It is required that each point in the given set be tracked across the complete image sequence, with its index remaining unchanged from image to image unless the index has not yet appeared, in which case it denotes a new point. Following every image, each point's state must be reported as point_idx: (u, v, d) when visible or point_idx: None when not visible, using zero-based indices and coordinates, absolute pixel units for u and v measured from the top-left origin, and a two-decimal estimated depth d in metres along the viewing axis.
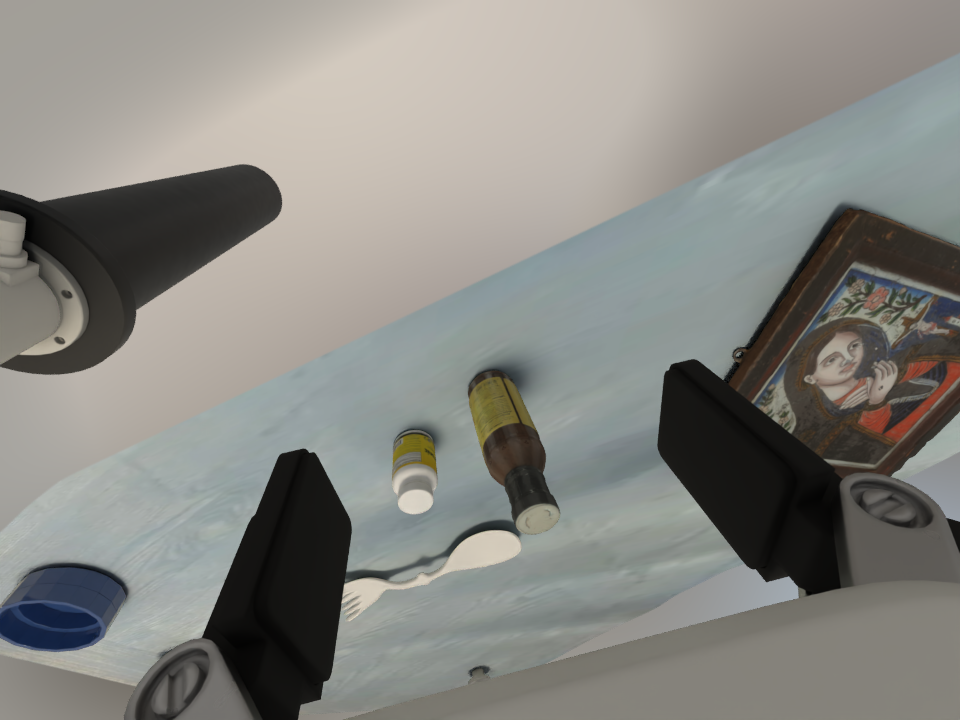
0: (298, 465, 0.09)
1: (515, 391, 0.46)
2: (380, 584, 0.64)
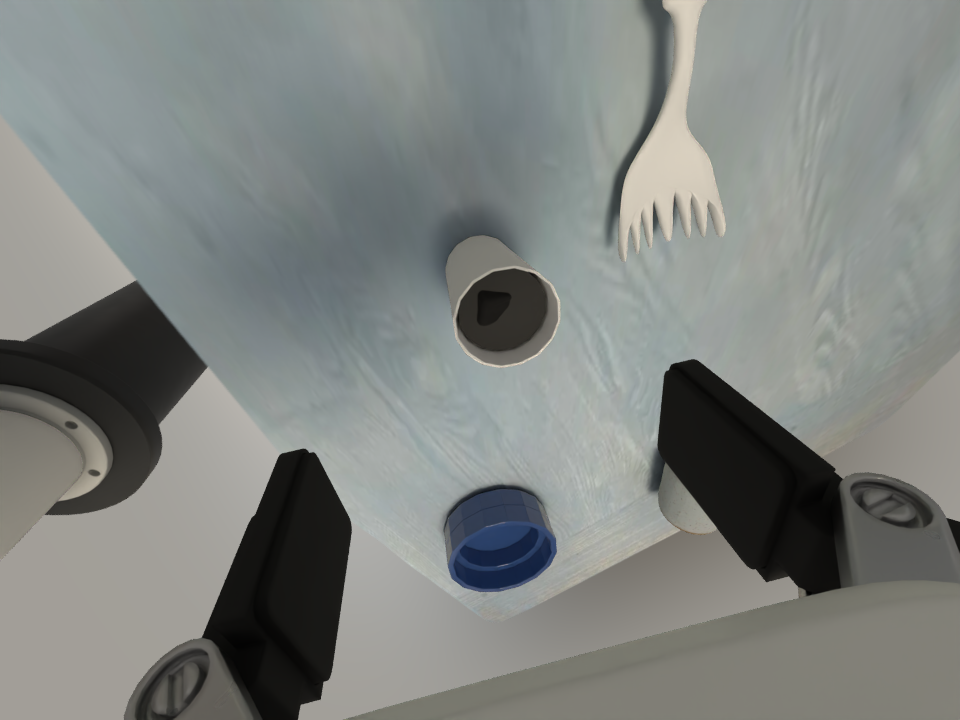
0: (298, 465, 0.09)
1: None
2: (662, 132, 0.28)
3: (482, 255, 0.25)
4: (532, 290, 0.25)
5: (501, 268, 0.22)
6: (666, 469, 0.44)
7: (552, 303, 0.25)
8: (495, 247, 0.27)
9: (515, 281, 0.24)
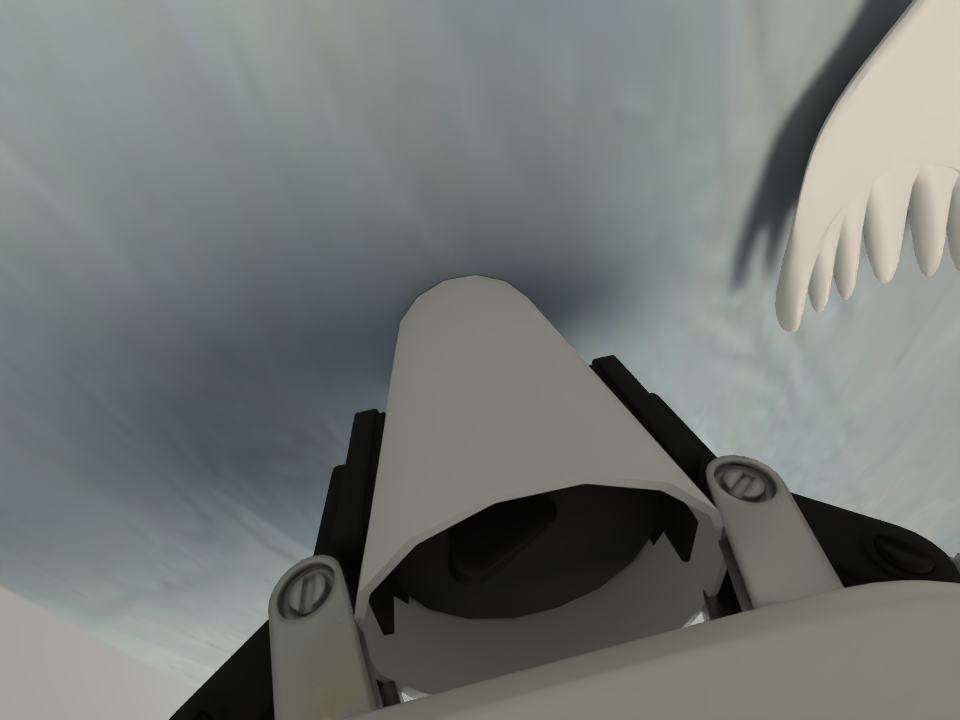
0: (374, 421, 0.10)
1: None
2: (941, 13, 0.10)
3: (463, 368, 0.08)
4: (623, 486, 0.08)
5: (531, 489, 0.05)
6: None
7: None
8: (503, 327, 0.10)
9: None
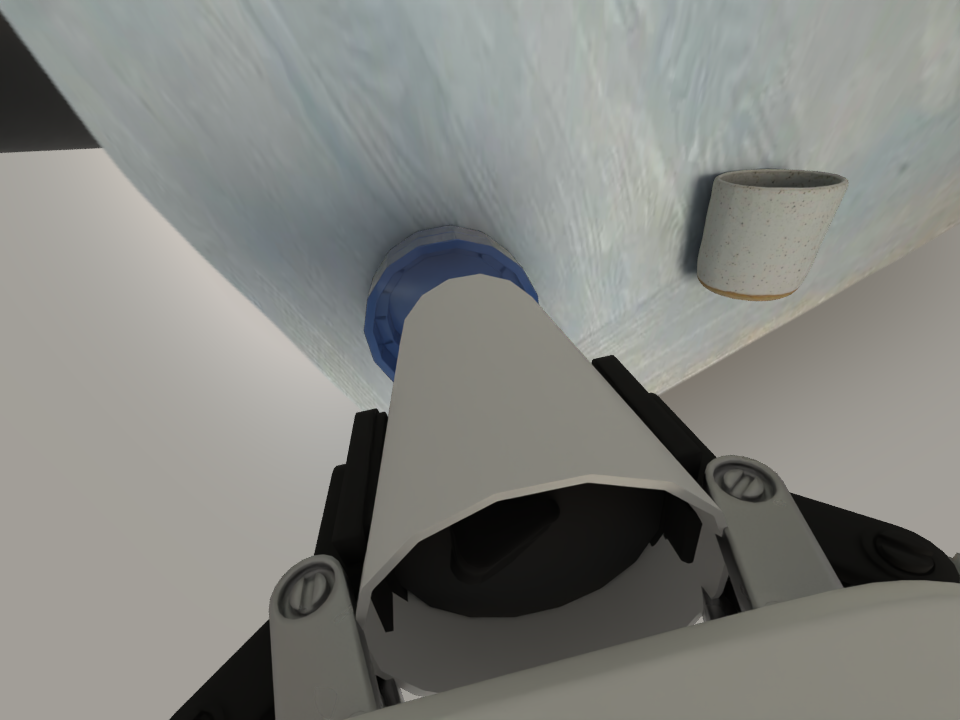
0: (374, 421, 0.10)
1: None
2: None
3: (467, 366, 0.08)
4: (626, 486, 0.08)
5: (533, 488, 0.05)
6: (714, 193, 0.28)
7: None
8: (506, 326, 0.10)
9: None
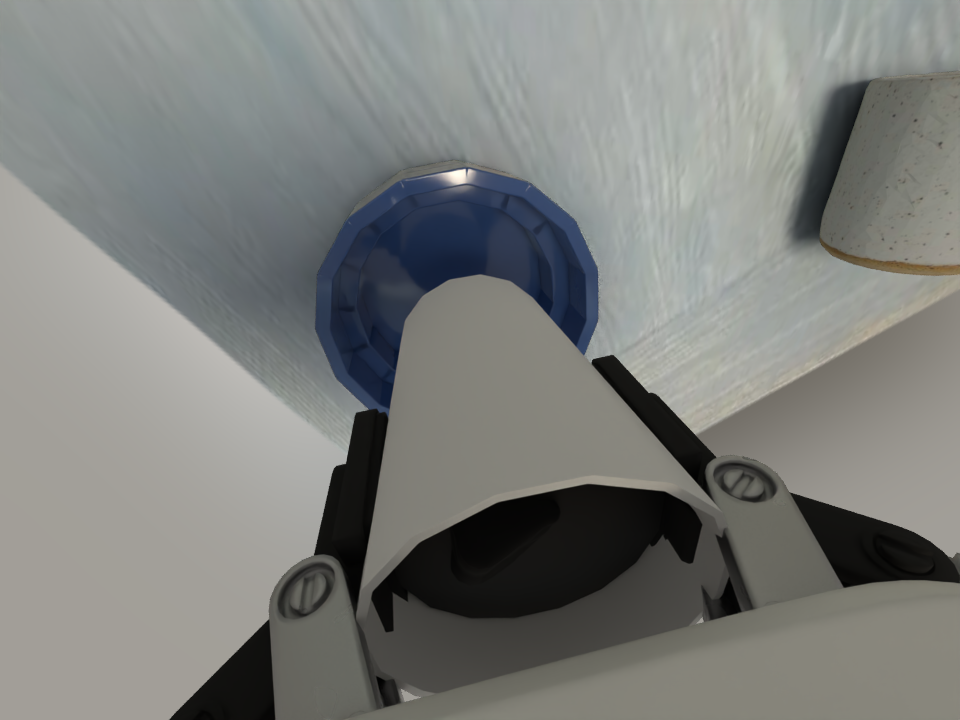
0: (374, 421, 0.10)
1: None
2: None
3: (467, 367, 0.08)
4: (627, 487, 0.08)
5: (534, 489, 0.05)
6: (876, 103, 0.18)
7: None
8: (507, 327, 0.10)
9: None
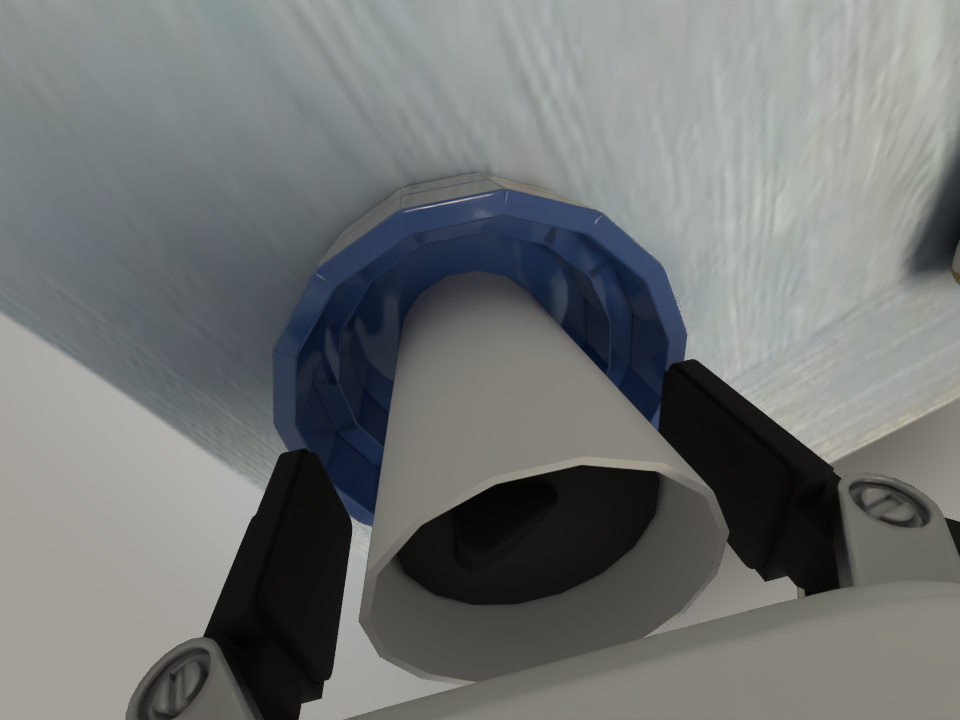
0: (299, 464, 0.09)
1: None
2: None
3: (465, 359, 0.08)
4: (622, 472, 0.08)
5: (530, 471, 0.05)
6: None
7: (687, 512, 0.08)
8: (503, 320, 0.10)
9: None
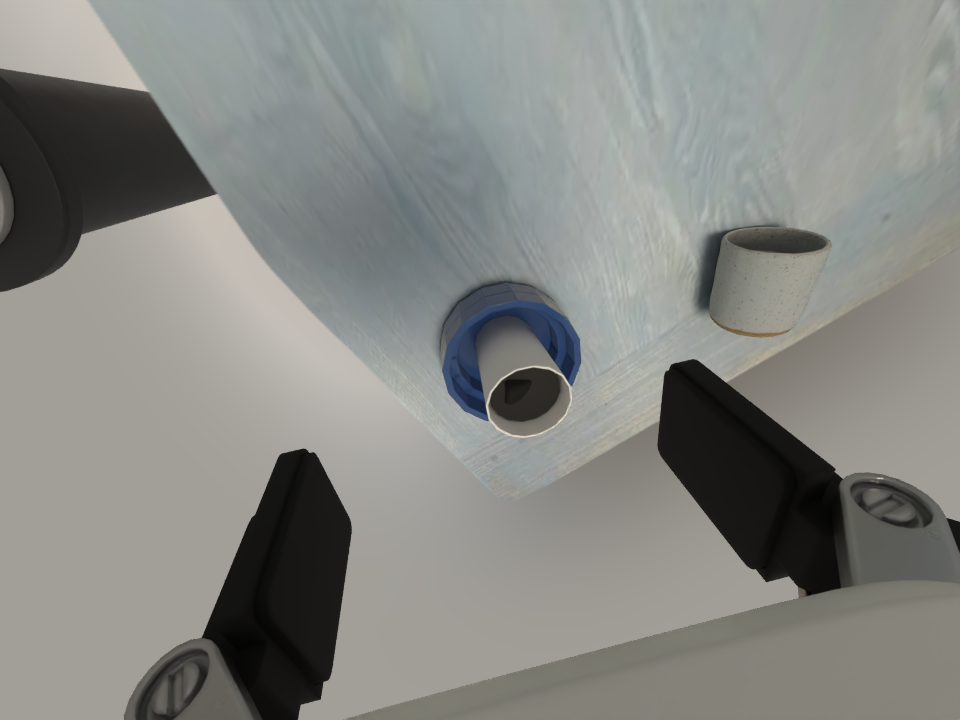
0: (298, 465, 0.09)
1: None
2: None
3: (507, 348, 0.31)
4: (548, 376, 0.30)
5: (523, 368, 0.28)
6: (722, 251, 0.34)
7: (565, 386, 0.30)
8: (517, 336, 0.33)
9: (534, 371, 0.30)
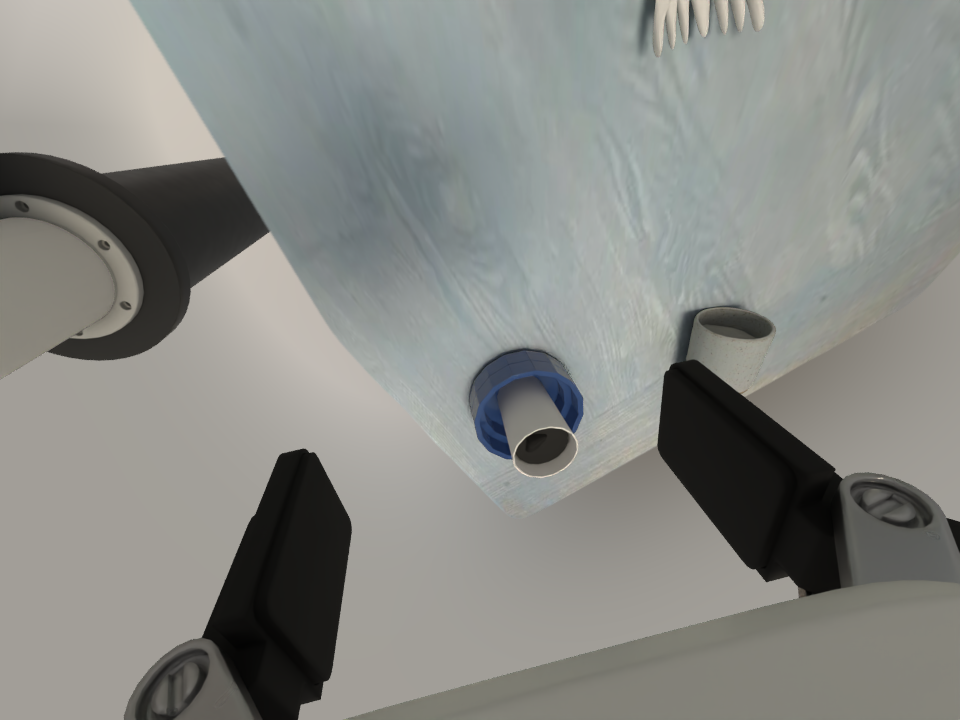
0: (298, 465, 0.09)
1: None
2: None
3: (527, 408, 0.40)
4: (560, 431, 0.39)
5: (542, 428, 0.37)
6: (694, 329, 0.44)
7: (572, 439, 0.39)
8: (534, 397, 0.41)
9: (549, 427, 0.39)
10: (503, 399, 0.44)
